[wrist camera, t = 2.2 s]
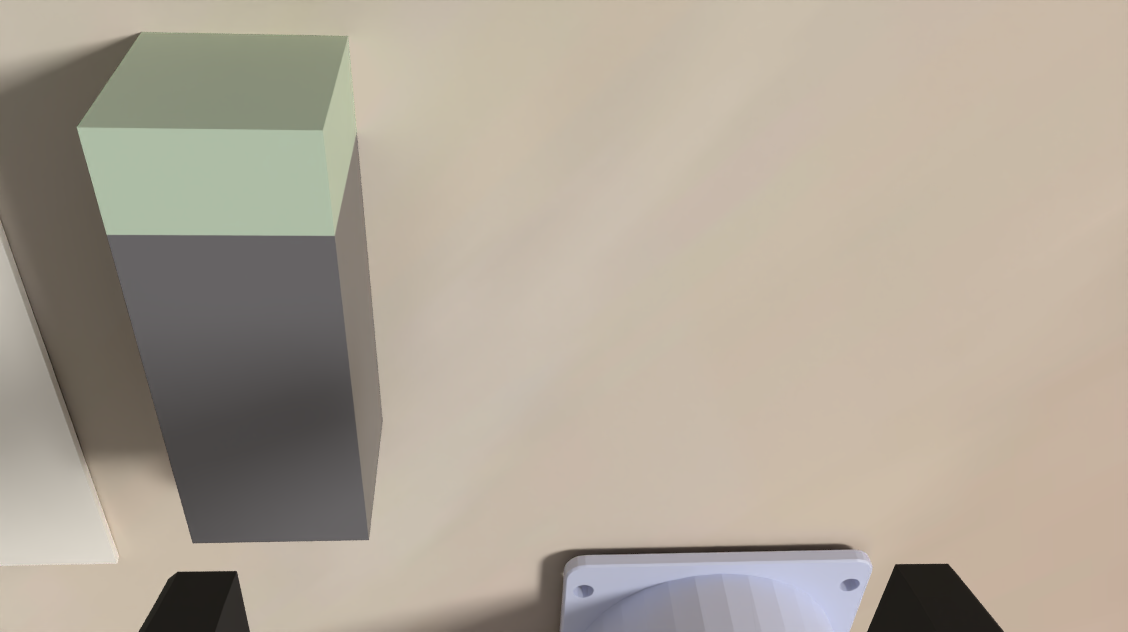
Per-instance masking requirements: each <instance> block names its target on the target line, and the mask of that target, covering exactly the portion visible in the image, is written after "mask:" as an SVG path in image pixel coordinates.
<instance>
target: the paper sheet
mask: <svg viewBox="0 0 1128 632" xmlns="http://www.w3.org/2000/svg"><path fill="white" fill-rule="evenodd" d="M118 559H119V555H118V552H117V549H116V546H115V543H114V541H113V538H112V535H111V532H110V529H109V526H108V524H107V521H106V518H105V515H104V512H103V509H102V507H101V504H100V501H99V498H98V495H97V492H96V490H95V487H94V484H93V481H92V478H91V475H90V473H89V470H88V467H87V464H86V461H85V458H84V456H83V453H82V450H81V447H80V444H79V441H78V439H77V436H76V433H75V430H74V427H73V424H72V422H71V419H70V416H69V413H68V410H67V407H66V405H65V402H64V399H63V396H62V393H61V390H60V388H59V385H58V382H57V379H56V376H55V373H54V371H53V368H52V365H51V362H50V359H49V357H48V354H47V351H46V348H45V345H44V342H43V340H42V337H41V334H40V331H39V328H38V325H37V323H36V320H35V317H34V314H33V311H32V308H31V306H30V303H29V300H28V297H27V294H26V291H25V289H24V286H23V283H22V280H21V277H20V274H19V272H18V269H17V266H16V263H15V260H14V257H13V255H12V252H11V249H10V246H9V243H8V240H7V238H6V235H5V232H4V229H3V226H2V223H1V221H0V566H18V565H67V564H115V563H117V562H118Z"/></svg>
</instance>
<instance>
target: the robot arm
mask: <svg viewBox="0 0 1128 632" xmlns="http://www.w3.org/2000/svg"><path fill="white" fill-rule="evenodd" d="M871 573H872V564H871V561H870V559H869V557H868V555H867V554H866V553H865V552H863V551H861V550H805V551H757V552H709V553H661V554H613V555H582V556H577V557H574V558H572V559H570V560H569V561H568V562H567V563H566V565H565V568H564V578H563V592H562V606H561V619H560V632H850V629H851V626H852V624H853V621H854V618H855V616H856V613H857V610H858V608H859V605H860V602H861V599H862V597H863V594H864V591H865V589H866V586H867V583H868V581H869V578H870V575H871ZM139 632H250V630H249V626H248V621H247V616H246V612H245V607H244V602H243V598H242V593H241V588H240V584H239V579H238V574H237V571H209V572H177V573H176V574H174V575H173V576H172V577H170V578H169V579H168V581H167V583H166V584H165V586H164V588H163V590H162V592H161V593H160V595H159V597H158V599H157V601H156V603H155V604H154V606H153V608H152V610H151V611H150V613H149V615H148V616H147V618H146V620H145V622H144V623H143V625H142V627H141V629H140V630H139ZM867 632H1004V631H1003V630H1002V629H1001V628H1000V626H999V625H998V624H997V623H996V621H995V620H994V619H993V618H992V616H991V615H990V614H989V613H988V612H987V610H986V609H985V608H984V607H983V605H982V604H981V603H980V602H979V600H978V599H977V598H976V597H975V596H974V594H973V593H972V592H971V591H970V589H969V588H968V587H967V586H966V585H965V583H964V582H963V581H962V580H961V578H960V577H959V576H958V575H957V574H956V572H955V571H954V570H953V569H952V568H951V567H950V566H949V564H895V567H894V569H893V572H892V574H891V576H890V579H889V581H888V583H887V586H886V588H885V591H884V593H883V595H882V598H881V600H880V603H879V605H878V607H877V610H876V612H875V614H874V617H873V619H872V622H871V624H870V626H869V629H868V631H867Z"/></svg>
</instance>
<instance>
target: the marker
mask: <svg viewBox="0 0 1128 632" xmlns="http://www.w3.org/2000/svg"><path fill="white" fill-rule="evenodd" d="M77 130H78V134H79V138H80V141H81V145H82V148H83V152H84V156H85V159H86V163H87V166H88V170H89V173H90V177H91V181H92V184H93V188H94V191H95V195H96V198H97V202H98V206H99V209H100V213H101V216H102V220H103V224H104V227H105V231H106V234H107V238H108V241H109V245H110V249H111V252H112V256H113V259H114V263H115V267H116V270H117V274H118V277H119V281H120V284H121V288H122V292H123V295H124V299H125V302H126V306H127V309H128V313H129V317H130V320H131V324H132V327H133V331H134V335H135V338H136V342H137V345H138V349H139V352H140V356H141V360H142V363H143V367H144V370H145V374H146V378H147V381H148V385H149V388H150V392H151V395H152V399H153V403H154V406H155V410H156V413H157V417H158V421H159V424H160V428H161V431H162V435H163V438H164V442H165V446H166V449H167V453H168V456H169V460H170V463H171V467H172V471H173V474H174V478H175V481H176V485H177V489H178V492H179V496H180V499H181V503H182V506H183V510H184V514H185V517H186V521H187V524H188V528H189V532H190V535H191V539H192V542H193V543H233V542H287V541H341V540H369V535H370V526H371V517H372V509H373V500H374V491H375V483H376V474H377V465H378V456H379V448H380V439H381V430H382V422H383V419H382V408H381V397H380V386H379V375H378V364H377V352H376V341H375V330H374V319H373V308H372V297H371V286H370V274H369V263H368V252H367V241H366V230H365V219H364V207H363V196H362V185H361V174H360V163H359V152H358V141H357V129H356V118H355V107H354V96H353V85H352V74H351V63H350V51H349V40H348V36H317V35H264V34H212V33H160V32H141V33H140V35H139V36H138V38H137V39H136V41H135V42H134V44H133V45H132V47H131V48H130V50H129V51H128V53H127V54H126V55H125V57H124V58H123V60H122V61H121V63H120V64H119V66H118V67H117V69H116V70H115V72H114V73H113V75H112V76H111V78H110V79H109V81H108V82H107V83H106V85H105V86H104V88H103V89H102V91H101V92H100V94H99V95H98V97H97V98H96V100H95V101H94V103H93V104H92V106H91V107H90V109H89V110H88V111H87V113H86V114H85V116H84V117H83V119H82V120H81V122H80V123H79V125H78V126H77Z"/></svg>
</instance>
